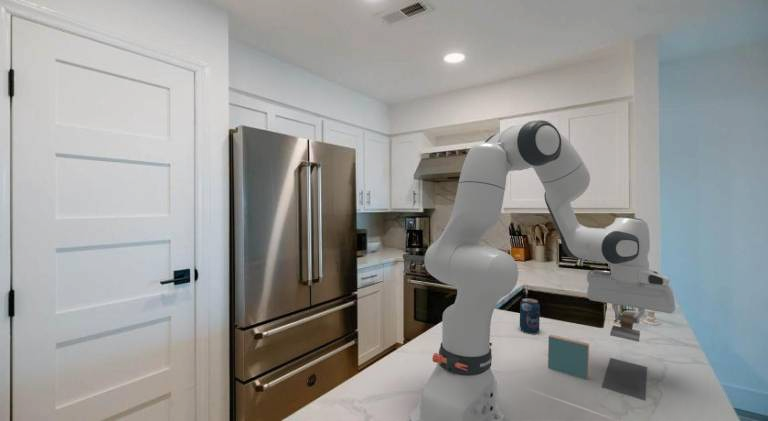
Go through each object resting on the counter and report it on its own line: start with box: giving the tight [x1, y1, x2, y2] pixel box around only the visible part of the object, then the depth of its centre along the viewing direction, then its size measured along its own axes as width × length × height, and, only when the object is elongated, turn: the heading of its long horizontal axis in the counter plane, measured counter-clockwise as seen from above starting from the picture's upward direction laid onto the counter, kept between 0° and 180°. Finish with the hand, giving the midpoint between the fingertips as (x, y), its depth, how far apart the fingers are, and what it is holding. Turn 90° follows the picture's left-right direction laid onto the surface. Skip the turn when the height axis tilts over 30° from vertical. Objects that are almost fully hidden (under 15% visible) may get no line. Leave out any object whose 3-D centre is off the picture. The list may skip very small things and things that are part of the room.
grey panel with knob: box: [609, 311, 641, 342], centre depth 92 cm, size 18×6×2 cm, turn 140°
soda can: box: [519, 297, 541, 335], centre depth 126 cm, size 7×7×12 cm
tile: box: [547, 334, 590, 380], centre depth 94 cm, size 2×10×10 cm, turn 50°
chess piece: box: [642, 309, 660, 326], centre depth 137 cm, size 5×5×10 cm
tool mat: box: [601, 357, 648, 401], centre depth 92 cm, size 22×9×1 cm, turn 140°
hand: (627, 321), depth 95 cm, fingers closed on grey panel with knob, 2 cm apart
